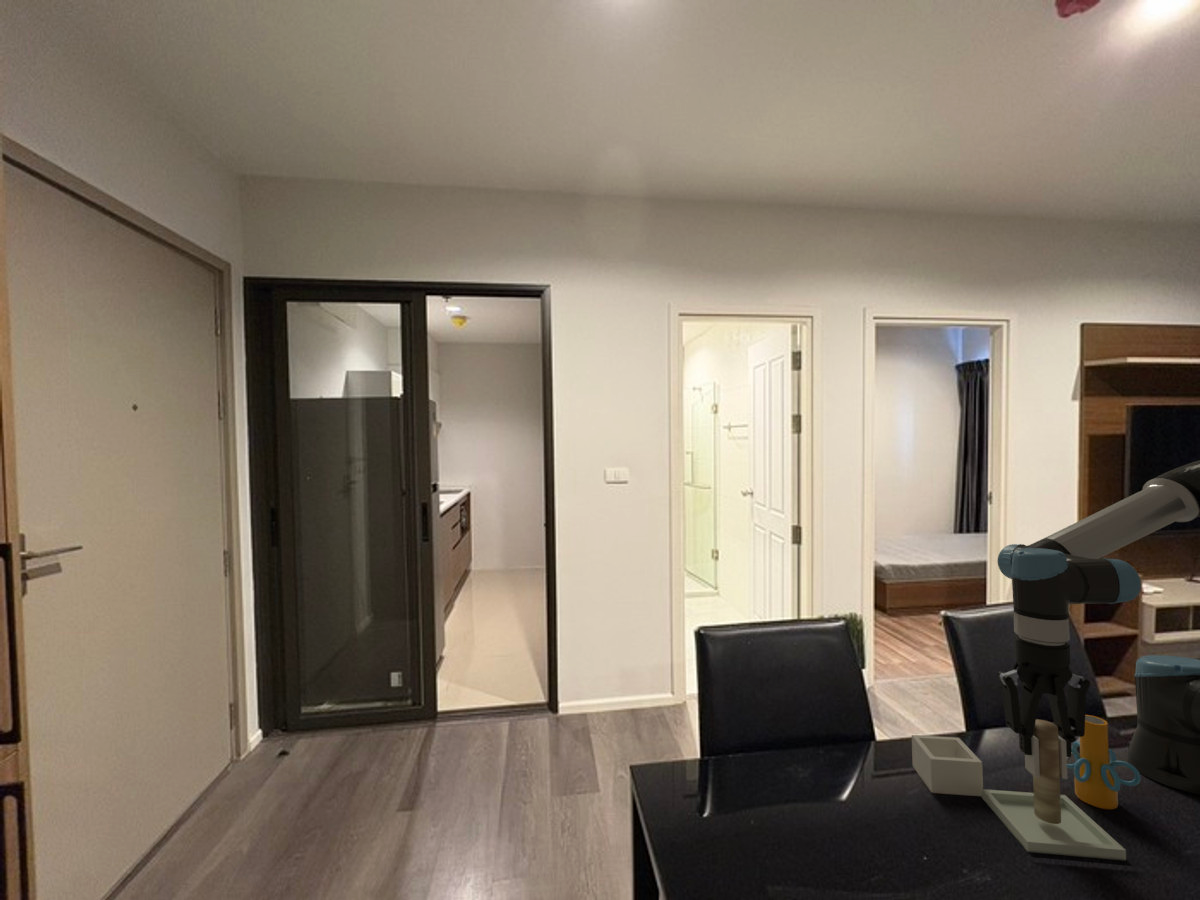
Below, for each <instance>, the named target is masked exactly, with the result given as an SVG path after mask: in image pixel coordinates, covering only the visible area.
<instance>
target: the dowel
mask: <svg viewBox="0 0 1200 900" xmlns="http://www.w3.org/2000/svg"><path fill="white" fill-rule="evenodd" d="M1033 736H1035V737H1036V738H1037V739H1038V740H1039V769H1040V777H1034V776H1033V775H1032V779H1033V780H1032V783H1033V784H1032V785H1033V793H1034V813H1035V815H1036V816H1037V817H1038V818H1039V819H1041V820H1043V821H1045V822H1048V823H1052V824H1059V823H1061V798H1060V795H1061V777H1060V770H1059V742H1058V726H1057V725H1055V724H1054V722H1051V721H1048V720H1044V719H1038V718H1036V722H1035V728H1034V734H1033Z"/></svg>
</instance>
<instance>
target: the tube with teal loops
mask: <svg viewBox="0 0 1200 900" xmlns="http://www.w3.org/2000/svg"><path fill="white" fill-rule="evenodd" d="M1109 745H1110V744H1109V723H1108V721H1107V720H1105V719H1103V718H1101V717H1099V716H1095V715H1091V714H1090V715H1089V714H1085V734H1084V736H1083V737H1079V740H1078V741H1077V740H1076V741H1075V742H1072V743H1071V752H1072V755H1073V757H1074V759H1075V762H1073V763H1071V764H1070V763H1067V769H1070V770H1073V776H1074V778H1073V781H1074V793H1075V796H1076V797H1077V798H1078V799H1079V800H1080V801H1082V802H1083V803H1086V804H1087V805H1090V806H1092V807H1095V808H1098V809H1101V810H1102V809H1103V810H1115V809H1117V808H1118V806H1119V796H1118V794H1119V793H1118V791H1119V790H1121V785H1124V786H1127V787H1135V786H1138V785H1139V784H1140V783H1141V780H1142V779H1141V777H1142V776H1141V773H1140V772H1138V770H1137V769H1136V768H1135V767H1134V766H1132V765H1131V764H1129V763H1128V761H1124V760H1117V755H1116V753H1115V752H1114V751H1113V749H1111V748H1109V747H1110V746H1109ZM1078 747H1079V752H1078ZM1118 766H1122V767H1126V768H1128V769H1129V770H1131V771H1132V772H1133V775H1134V778H1133V779H1131V780H1130V781H1129V780H1124V779H1122V778H1120V777H1119V775H1118V772H1117V770H1116V767H1118Z"/></svg>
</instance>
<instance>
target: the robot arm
mask: <svg viewBox="0 0 1200 900" xmlns="http://www.w3.org/2000/svg"><path fill="white" fill-rule="evenodd" d="M1199 517H1200V459H1199V460H1196V461H1192V462H1190V463H1187V464H1184V465H1182V466H1179V467H1176V468H1174V469H1171V470H1168V471H1166V472H1164V473H1162V474H1160V475H1158V476H1156V477H1154V478H1152V479H1149V480H1148V481H1146V482H1145V483H1144V485H1143V486H1142V489H1141V491H1137V492H1136V493H1134V494H1132V495H1130V496H1127V497H1125V498H1123V499H1122V500H1119V501H1117V502H1115V503H1113V504H1111V505H1109V506H1107V507H1105V508H1103V509H1101V510H1099V511H1097V512H1094V513H1093V514H1091V515H1089V516H1087V517H1084V518H1082V519H1081V520H1079V521H1076V522H1075V523H1073V524H1071V525H1068V526H1066V527H1064V528H1062V529H1061V530H1060V529H1059V530H1058V531H1056V532H1053V533H1051V534H1050V535H1048V536H1046V537H1044V538H1041V539H1040V540H1037V541H1035V542H1033V543H1031V544H1027V545H1026V544H1022V543H1019V544H1017V543H1013V544H1008V545H1006V546H1005V547H1003V548H1002V549H1001V550H1000V551H999V554H998V556H997V565H998V570H1000V572H1001V574H1002V575H1004V576H1005V577H1006V578H1007V579H1010V580H1011V584H1012V587H1011V588H1012V602H1013V603H1012V605H1013V631H1014V633H1015V634H1016V635H1015V636H1014V638H1013V639H1014V641H1013V642H1014V644H1013V645H1014V655H1015V656H1014V657H1015V664H1014V665H1013V668H1012V670H1009V671H1007V672H1004V671H997V673H996V675H997V677H998V680H999V682H1000V684H1001V688H1002V689H1001V690H1002V696H1003V697H1002V699H1003V708H1004V717H1005V718H1004V719H1005V725H1006V726H1007V727H1008V728H1009V729H1011V730H1012V731H1013V732H1014V733H1015V734H1017V735H1018V738H1019V740H1018V741H1019V742H1018V744H1019V749H1020V751H1021V752H1022V753H1023V754H1024V768H1025V769H1026V770H1027V771H1028V772H1029V774H1031V775H1032V777H1033V776H1034V777H1040V769H1039V740H1038V739H1037V738H1036V737H1035V736H1033V734H1034V728H1035V722H1036V719H1037V714H1038V709H1039V703H1040V701H1041V700H1042V696H1043V695H1044V694H1046V695H1047V698H1048V703H1049V707H1050V711H1051V715H1052V716H1051V717H1052V719H1053V724H1055V725H1057V726H1058V742H1059V770H1060V779H1063V780H1068V768H1067V764H1068V758H1071V757H1072V755H1073V753H1072V752H1071V748H1072V743H1073V742H1075V741H1077V738H1076V737H1079V738H1080V737H1083V736H1084V734H1085V715H1086V707H1087V706H1086V703H1087V702H1086V701H1087V693H1088V690H1089V688H1090V685H1091V681H1090V680H1088V679H1087V678H1085V677H1083V676H1082V675H1080V674H1078V673H1075V674H1074V673H1073V671H1072V670H1071V668H1070V665H1071V646H1070V644H1069V643H1068V642H1069V641H1070V640H1071V637H1070V622H1069V621H1070V620H1069V619H1070V618H1069V617H1070V612H1069V611H1070V610H1069V609H1070V606H1069V605H1081V604H1084V605H1085V604H1086V605H1087V604H1089V605H1090V604H1091V605H1092V604H1093V605H1094V604H1110V605H1113V604H1119V603H1127V602H1130V601H1132V600H1135V599H1136V598H1137V597H1138V596H1139V594H1140V593H1141V590H1142V587H1141V586H1142V583H1141V581H1142V580H1141V576H1140V575H1139V573H1138V571H1137V570H1136V568H1134V566H1133V565H1131V564H1130V563H1129V562H1127V561H1125V560H1122V559H1118V558H1107V557H1105V556H1108V555H1109V554H1112V553H1114V552H1115V551H1118V550H1119V549H1121V548H1123V547H1126V546H1128V545H1131V544H1132V543H1134V542H1136V541H1138V540H1140V539H1142V538H1144V537H1147V536H1149V535H1150V534H1152V533H1154V532H1157V531H1158V530H1161V529H1162V528H1165V527H1167V526H1169V525H1171V524H1173V523H1174V522H1177V523H1186V522H1190V521H1193V520H1195V519H1197V518H1199ZM1018 679H1019V680H1020V681H1021V683H1022V685H1021V692H1022V697H1021V702H1020V701H1019V693H1018V689H1017V686H1018V684H1019V683H1018ZM1067 684H1068V688H1067V704H1066V694H1065V690H1064V688H1065V687H1066V686H1067ZM1134 684H1135V700H1136V715H1137V716H1136V718H1137V724H1136V725H1137V726H1136V728H1135V730H1134V733H1133V736H1132V738H1131V740H1130V743H1129V745H1128V746H1127V747H1126V756H1127V757H1126V759H1127V761H1126V762H1127V763H1129V764H1131V765H1132V766H1134V767H1135V768H1136V769H1137V770H1138V772H1139V773H1140V775H1141V774H1142V775H1143V776H1144V777H1147V778H1149V779H1151V780H1152V781H1155V782H1158V783H1160V784H1162V785H1165V786H1166V787H1167V786H1168V787H1170V788H1173V789H1176V790H1179V791H1183V792H1186V793H1191V794H1195V795H1200V659H1199V658H1198V659H1196V658H1192V657H1185V656H1177V655H1176V656H1174V655H1173V656H1172V655H1164V654H1163V655H1160V654H1159V655H1156V654H1155V655H1154V654H1152V655H1151V654H1150V655H1143V656H1140V657H1138V659H1137V660H1136V661H1135V673H1134ZM1066 705H1067V706H1066Z"/></svg>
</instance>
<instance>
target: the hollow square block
mask: <svg viewBox="0 0 1200 900" xmlns="http://www.w3.org/2000/svg"><path fill="white" fill-rule="evenodd" d="M911 752H912V755H911V756H912V760H911V761H912V767H913V769H914V771H916V772H917V774H918V777H920V779H921V780H922V781H923V782H924V784H925V786H926V787H927V789H928V790H929V791H930V792H931V793H933V794H944V795H955V796H956V795H957V796H959V795H960V796H969V797H970V796H972V797H973V796H974V797H982V789H984V778H983V776H984V775H983V774H984V773H983V762H982V761H981V759H979V757H978V756H977V755H976V754H975V753H974V752H973V751H972V750H971V749H970V748H969V747H968V746H967V745H966V744H965V742H964V741H963V740H962V739H961V738H960V737H953V736H951V737H950V736H936V735H935V736H933V735H918V734H915V735H914V734H911Z"/></svg>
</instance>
